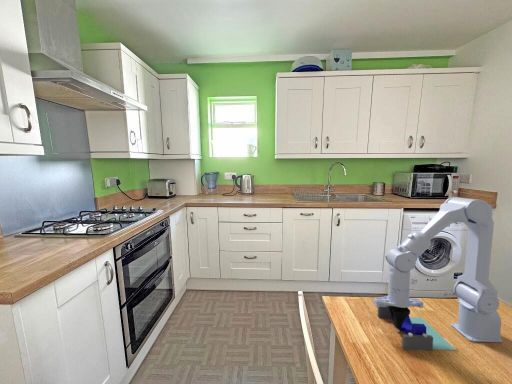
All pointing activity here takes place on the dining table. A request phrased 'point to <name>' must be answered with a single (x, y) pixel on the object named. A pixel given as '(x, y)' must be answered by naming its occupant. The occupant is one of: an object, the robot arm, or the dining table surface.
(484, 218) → the robot arm
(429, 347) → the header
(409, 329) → the blue bent block
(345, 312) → the dining table surface
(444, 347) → the mat
